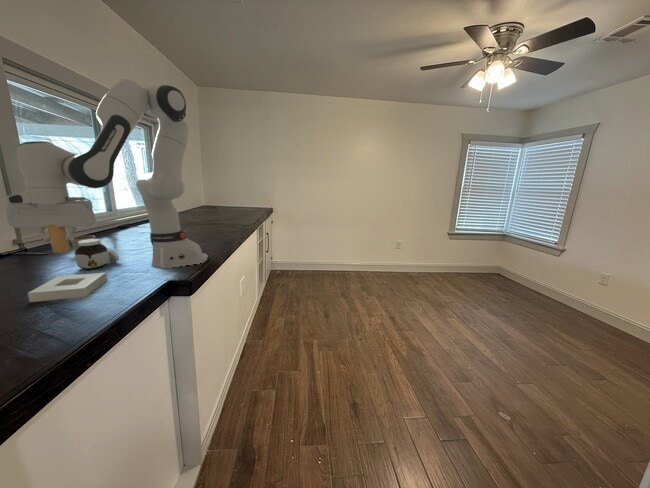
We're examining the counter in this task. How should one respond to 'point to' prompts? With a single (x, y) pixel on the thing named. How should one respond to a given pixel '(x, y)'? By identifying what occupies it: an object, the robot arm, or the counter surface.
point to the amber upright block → (58, 239)
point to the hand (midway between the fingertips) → (59, 240)
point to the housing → (67, 287)
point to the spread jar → (94, 255)
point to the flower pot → (80, 238)
